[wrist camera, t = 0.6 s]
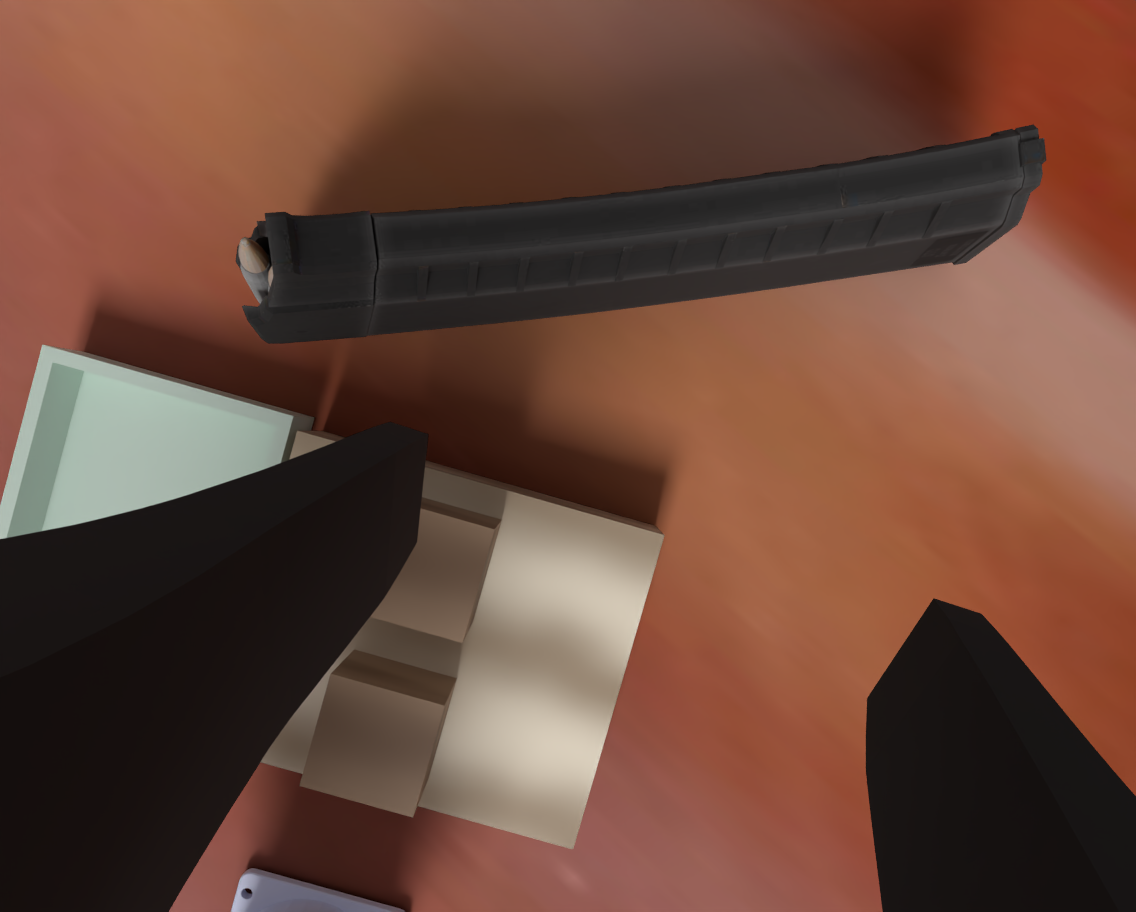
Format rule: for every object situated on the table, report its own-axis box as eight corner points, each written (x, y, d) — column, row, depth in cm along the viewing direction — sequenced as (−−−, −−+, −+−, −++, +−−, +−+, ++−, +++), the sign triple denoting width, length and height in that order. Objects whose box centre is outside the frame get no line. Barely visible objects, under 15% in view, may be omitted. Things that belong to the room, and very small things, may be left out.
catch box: (229, 726, 33) (201, 750, 30) (1, 662, 33) (-46, 681, 30) (314, 417, 32) (293, 416, 30) (83, 351, 32) (42, 344, 30)
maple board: (572, 811, 33) (573, 849, 30) (242, 719, 33) (210, 748, 30) (655, 525, 32) (664, 535, 29) (322, 430, 32) (297, 430, 29)
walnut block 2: (428, 779, 30) (413, 817, 27) (326, 750, 30) (299, 786, 27) (456, 678, 30) (444, 705, 27) (354, 649, 30) (330, 673, 27)
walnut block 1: (472, 622, 30) (462, 642, 27) (370, 592, 30) (348, 610, 27) (502, 519, 29) (494, 529, 26) (398, 490, 29) (379, 496, 26)
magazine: (1161, 99, 23) (140, 72, 14) (1170, 198, 23) (163, 230, 15) (827, 248, 40) (254, 278, 31) (833, 306, 40) (264, 351, 31)
